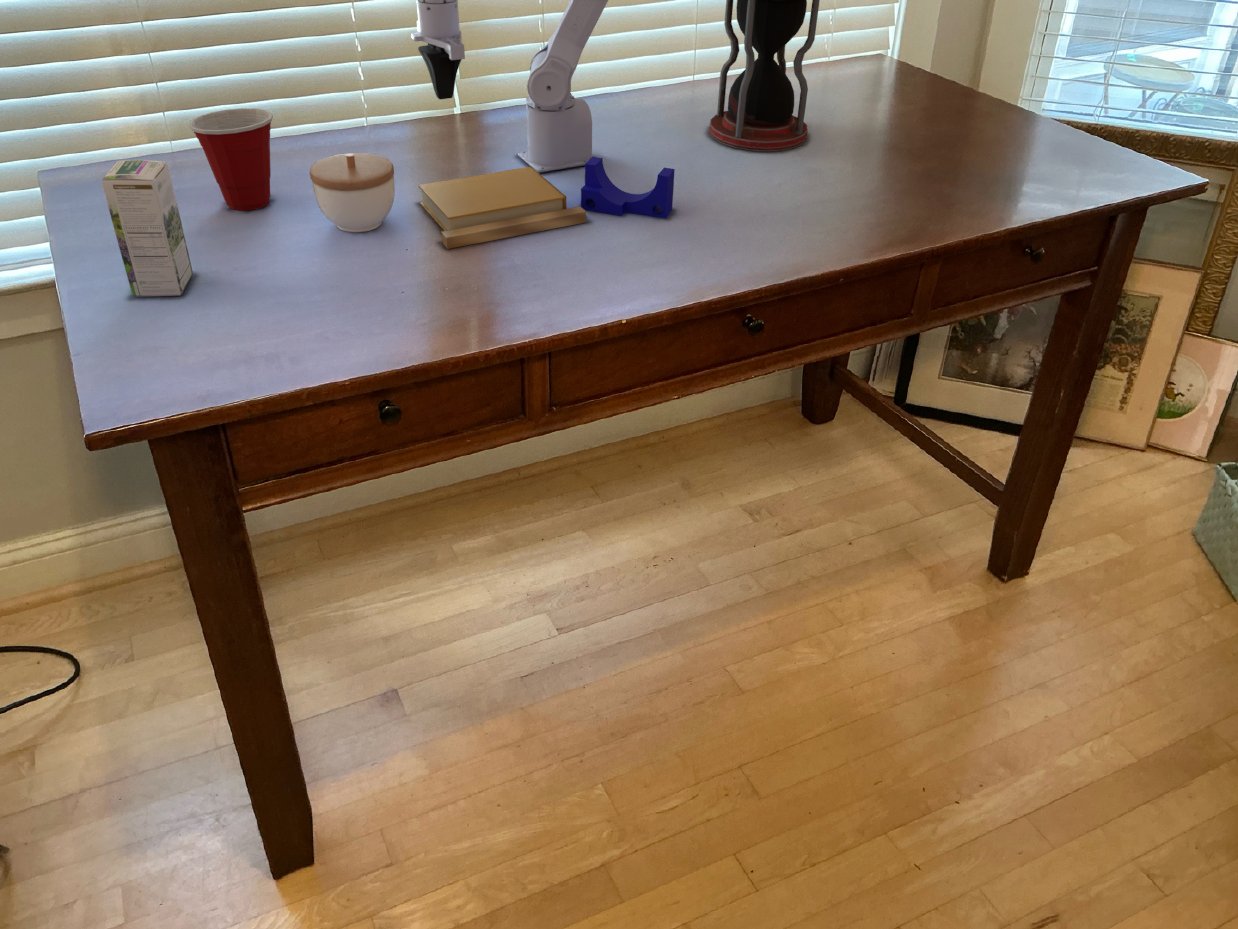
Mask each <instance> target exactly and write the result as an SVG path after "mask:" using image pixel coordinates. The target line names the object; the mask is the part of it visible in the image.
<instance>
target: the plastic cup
mask: <svg viewBox="0 0 1238 929" xmlns="http://www.w3.org/2000/svg"><path fill="white" fill-rule="evenodd" d="M273 116H274V113H273V112H272V111H270V110H268V109H263V108H255V107H254V108H251V107H250V108H249V107H241V108H230V109H229V108H228V109H223V110H217V111H211V112H209V113H205V114H201V115H198V116H196V117H194V118H192V119H191V120H190V121H189V123H188V124H187V126H188V128H189V129H190V130H191V131H192V132H193V133H194V135H195V137H196V139H197V140H198V142H199V145H200V146H201V148H202V150H203V152H204V155H205V157H206V159H207V162H208V164H209V167H210V169H211V172H212V173H213V177H214V179H215V181H216V183H217V185H218V187H219V189H220V192H221V194H222V197H223V200H224V202H225V203H226V205H227V206H228V207H229V209H232V210H234V211H242V212H243V211H244V212H245V211H255V210H259V209H262V208H264V207H266V206H268V204H270V201H271V200H270V199H271V176H272V175H271V174H272V173H271V171H272V170H271V128H272V127H271V124H272V121H273Z"/></svg>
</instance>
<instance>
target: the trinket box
mask: <svg viewBox="0 0 1238 929" xmlns="http://www.w3.org/2000/svg"><path fill="white" fill-rule="evenodd" d="M309 178H310V180H311V185H312V189H313V194H314V198H315V200H316V203H317V205H318V208H319V209H320V211H321V213H322V214H323V215H324V216H325V218H326V219H328V220H329V221H330V222H331V223H333V224H334V225H335V226H336V228H337V229H338V230H341V231H343V232H348V233H365V232H369V231H373V230H375V229H378V228H379V227H380V226H382V224H383V221H384V220H385V219H386V218H387V216H388V215H390V212H391V210H392V207H393V206H394V205H393V204H394V201H395V189H396V188H395V168H394V163H393V162H392V161H391V159H388V158H387V157H386V156H385V157H384V156H382V155H379V154H376V153H367V152H345V153H339V154H334V155H330V156H326V157H323V158H321V159H318V160H317V161H315V162H314V163H313V164H312V165H311V166H310V168H309Z"/></svg>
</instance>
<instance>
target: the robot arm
mask: <svg viewBox="0 0 1238 929" xmlns="http://www.w3.org/2000/svg"><path fill="white" fill-rule="evenodd" d="M458 1H459V0H416V11H417V20H416V30H417V32H411V34H410V36H411V40H413V41H414V42H423V43H426V44H427V45H420V46H418V48H417V50H418V52H419V54H420V55H421V57H422V59H423V61H424V63H425V66H426V68H427V71H428V73H429V77H430V81H431V83H432V86H433V87H432V88H433V91H434V94H435V96H436V98H437V99H438V100H447V99H453V96H454V93H455V86H456V79H457V74H458V70H459V67H460V64H461V63H462V60H465V59H466V55H465V54H466V53H465V52H466V51H465V44H464V43H463V41H462V38H463V37H462V31H461V30H460V16H459V2H458ZM608 2H609V0H569V2H568V4H567V6H566V8H565V10H564V12H563V13H562V16H561V18H560V20H559V22H558V24H557V26H556V28H555V29H554V31H553V33H552V34H551V36H550V37H549V39H548V41H547V43H546V45H545V46H544V47H543V48H541V49H540V50H538V51H537V52H536V53H535V54H534V55H533V57H532V58H531V61H530V65H529V71H530V72H529V76H528V78H527V81H526V90H527V94H528V96H527V97H526V98H525V103H526V104H525V105H526V106H525V107H526V108H525V109H526V110H525V111H526V139H527V140H526V142H527V143H526V144H527V150H526V151H519V152H518V153H517V155H518V157H519V158H520V159H521V160H522V161H524V162H525V163H526V164H527V165H528V166H529V167H532V168H533V169H535V170H536V171H537V172H538V173H546V172H552V171H557V170H559V171H560V170H564V169H570V168H576V167H582V166H585V163H586V162H587V161H588V160H589V159H590V158H591V157H593V116H592V113H591V112H592V111H591V108H590V106H589V104H588V103H587V101H586V100H585V99H583V98H575V95H573V94H572V92H571V91H572V79H573V75H574V73H575V72H576V70H577V67H578V64H579V61H580V59H581V56H582V53H583V50H584V48H585V47H586V45H587V43H588V41H589V39H590V38H591V35H592V33H593V31H594V29H595V27H596V25H597V24H598V22H599V20H600V17H601V15H602V13H603V11H604V10H605V8H606V6H607V4H608Z"/></svg>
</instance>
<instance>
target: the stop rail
mask: <svg viewBox="0 0 1238 929" xmlns="http://www.w3.org/2000/svg"><path fill="white" fill-rule="evenodd" d="M585 223H587V210H584V209H583V208H581V205H579V206H573V207H569V208H566V209H563V210H557V211H552V212H546V213H541V214H536V215H530V216H525V217H519V218H514V219H509V220H503V221H498V222H492V223H487V224H481V225H476V226H471V227H465V228H460V229H454V230H449V231H444V230H443V231H441V242H442V244H443V246H445V249H447V250H450V249H455V248H460V247H465V246H470V245H476V244H482V243H486V242H492V241H496V240H503V239H507V238H512V237H518V236H522V235H523V236H524V235H527V234H528V235H529V234H532V233H538V232H543V231H548V230H553V229H560V228H564V227H569V226H574V225H581V224H585Z"/></svg>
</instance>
